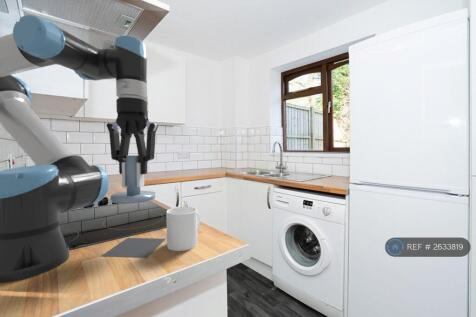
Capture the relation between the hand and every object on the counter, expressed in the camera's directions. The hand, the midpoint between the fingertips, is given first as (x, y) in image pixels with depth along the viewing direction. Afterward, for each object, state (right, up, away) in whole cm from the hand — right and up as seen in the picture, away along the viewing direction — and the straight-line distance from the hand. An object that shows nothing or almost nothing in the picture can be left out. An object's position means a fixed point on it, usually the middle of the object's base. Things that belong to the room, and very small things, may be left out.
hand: (133, 186), depth 62 cm
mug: (+14, -17, +4) cm, 22 cm away
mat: (0, -17, +1) cm, 17 cm away
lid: (0, -3, 0) cm, 3 cm away
